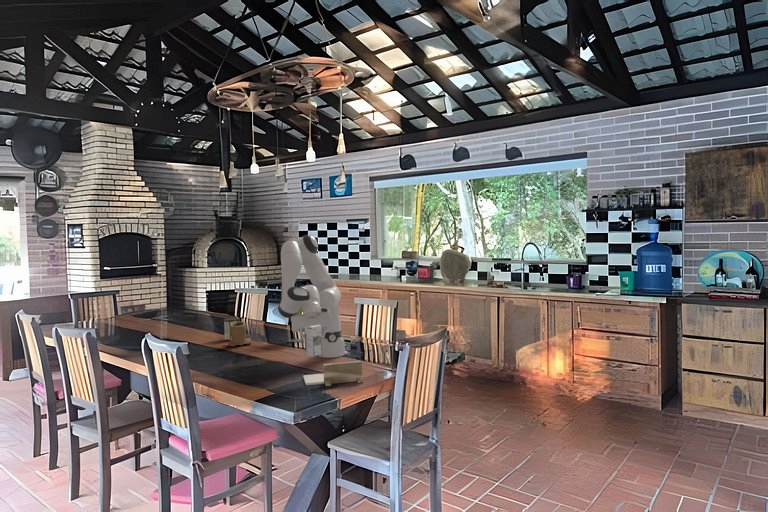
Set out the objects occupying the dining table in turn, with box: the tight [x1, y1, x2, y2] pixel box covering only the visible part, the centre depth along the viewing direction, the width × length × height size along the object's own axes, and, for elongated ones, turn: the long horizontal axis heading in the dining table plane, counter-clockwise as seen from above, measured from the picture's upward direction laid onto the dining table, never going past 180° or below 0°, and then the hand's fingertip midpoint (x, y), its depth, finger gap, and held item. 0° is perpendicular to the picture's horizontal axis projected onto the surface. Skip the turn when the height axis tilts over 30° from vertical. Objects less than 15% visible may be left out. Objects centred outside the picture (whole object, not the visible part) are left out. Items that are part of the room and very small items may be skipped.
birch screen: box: [322, 360, 364, 387], centre depth 244 cm, size 5×18×9 cm, turn 103°
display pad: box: [302, 373, 325, 386], centre depth 250 cm, size 14×10×1 cm
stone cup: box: [227, 321, 252, 347], centre depth 332 cm, size 15×12×15 cm
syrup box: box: [304, 324, 322, 358], centre depth 248 cm, size 6×6×14 cm
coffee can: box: [223, 317, 241, 340], centre depth 351 cm, size 10×10×14 cm
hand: (313, 337), depth 248 cm, fingers closed on syrup box, 8 cm apart
